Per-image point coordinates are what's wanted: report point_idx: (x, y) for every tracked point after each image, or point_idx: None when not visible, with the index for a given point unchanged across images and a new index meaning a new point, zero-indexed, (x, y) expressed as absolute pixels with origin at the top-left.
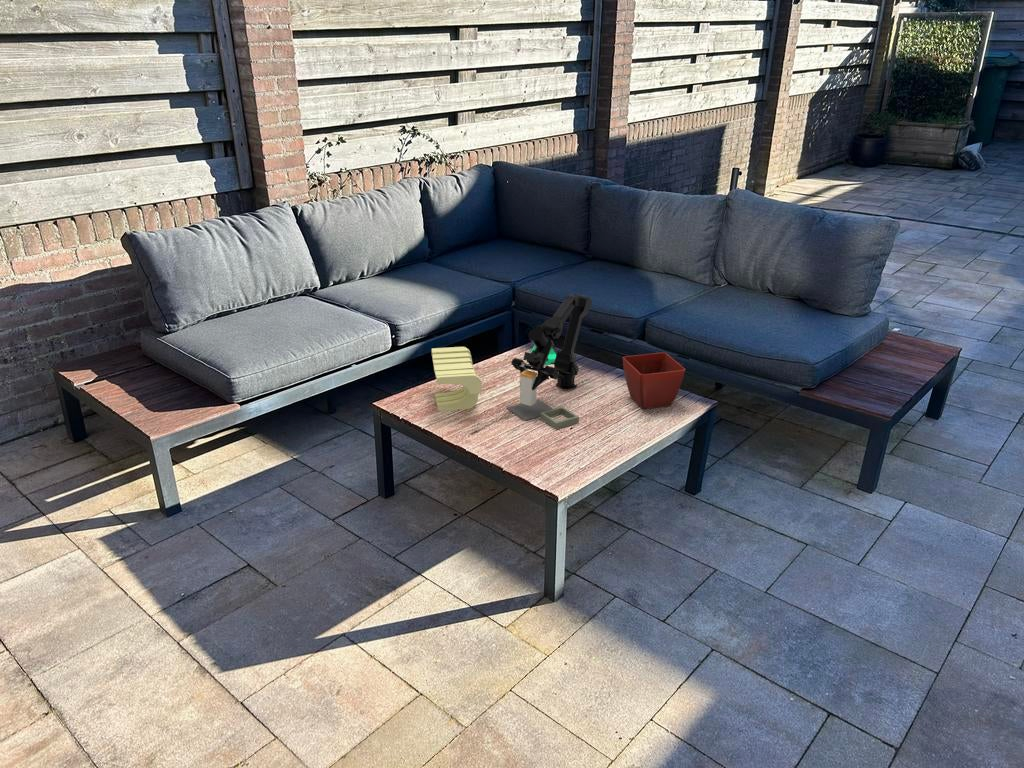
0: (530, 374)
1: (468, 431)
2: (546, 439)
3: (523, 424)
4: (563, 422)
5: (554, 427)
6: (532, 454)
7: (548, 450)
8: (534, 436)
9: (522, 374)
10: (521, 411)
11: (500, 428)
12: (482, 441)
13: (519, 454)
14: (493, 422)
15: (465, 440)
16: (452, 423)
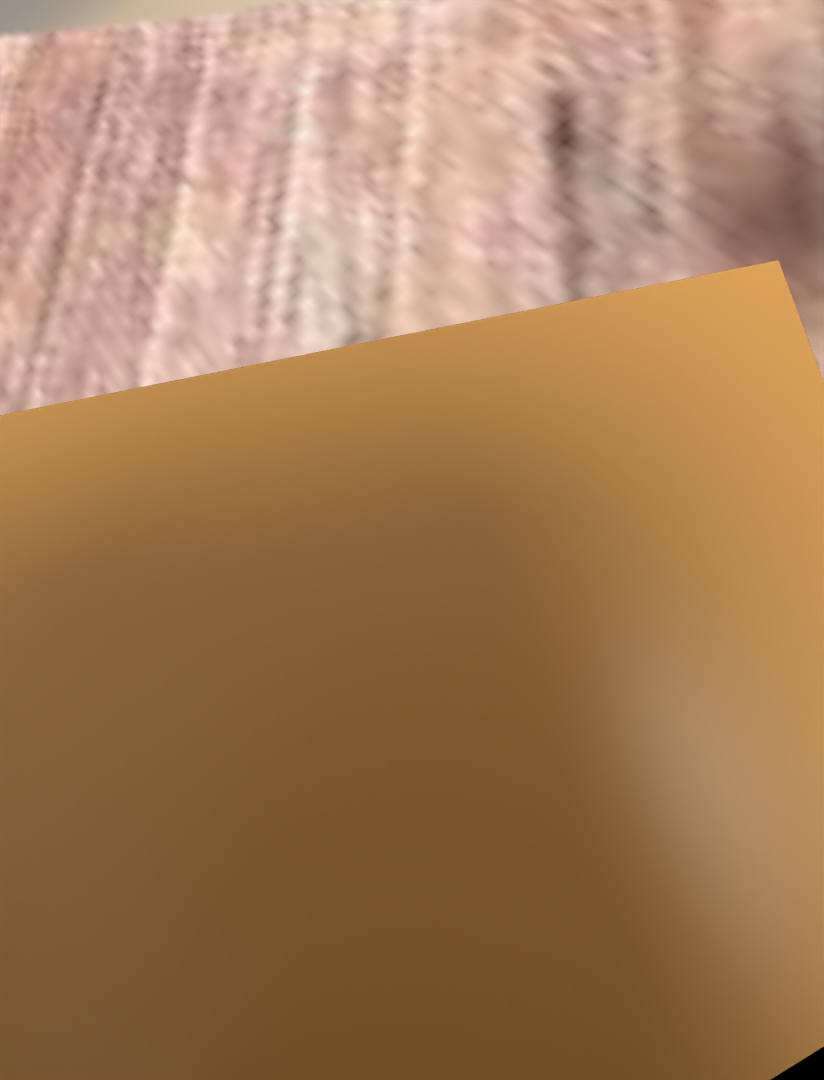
0: (147, 546)
1: (609, 103)
2: (89, 396)
3: None
4: None
5: None
6: (73, 203)
7: (14, 300)
8: (180, 371)
9: (592, 331)
10: None
11: (459, 287)
12: (422, 92)
13: (136, 153)
14: None
15: (520, 27)
16: (818, 89)
